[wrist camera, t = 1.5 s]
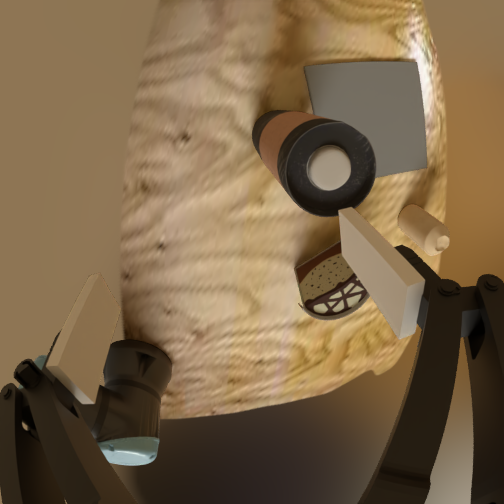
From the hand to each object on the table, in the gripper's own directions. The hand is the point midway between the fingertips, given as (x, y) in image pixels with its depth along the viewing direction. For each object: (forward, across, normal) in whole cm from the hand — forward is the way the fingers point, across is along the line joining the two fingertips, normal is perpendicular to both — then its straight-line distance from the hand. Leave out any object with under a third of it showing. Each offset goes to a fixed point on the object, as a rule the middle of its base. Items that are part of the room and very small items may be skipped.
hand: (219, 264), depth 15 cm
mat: (+27, +24, +1) cm, 36 cm away
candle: (+27, +30, -17) cm, 44 cm away
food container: (+27, +13, -22) cm, 37 cm away
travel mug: (+27, +9, +1) cm, 28 cm away
